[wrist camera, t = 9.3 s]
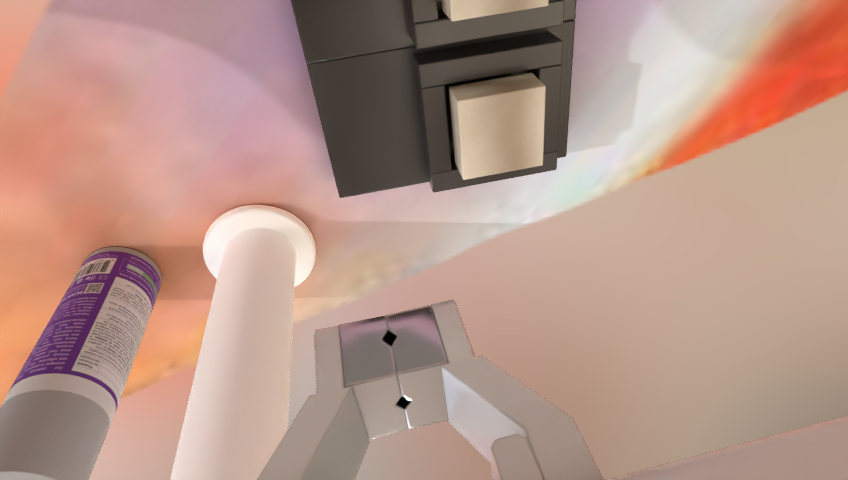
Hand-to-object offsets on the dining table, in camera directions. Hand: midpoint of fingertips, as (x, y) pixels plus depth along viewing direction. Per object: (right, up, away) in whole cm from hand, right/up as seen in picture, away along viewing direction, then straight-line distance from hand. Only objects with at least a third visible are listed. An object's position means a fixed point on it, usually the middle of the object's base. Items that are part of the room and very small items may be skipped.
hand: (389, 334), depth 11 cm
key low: (+4, +9, +17) cm, 19 cm away
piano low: (+2, +10, +19) cm, 22 cm away
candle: (-10, +2, +23) cm, 25 cm away
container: (-19, 0, +23) cm, 30 cm away
